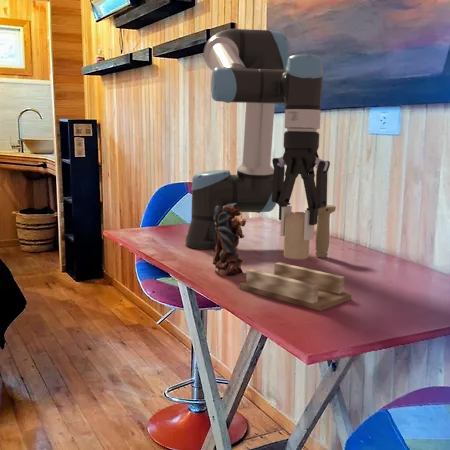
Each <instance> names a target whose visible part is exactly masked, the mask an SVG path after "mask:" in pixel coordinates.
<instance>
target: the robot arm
mask: <svg viewBox="0 0 450 450" xmlns="http://www.w3.org/2000/svg"><path fill="white" fill-rule="evenodd" d="M290 55H291V54H290V47H289V42H288V38H287V36H286V34H285V33H283V32H282V31H277V30H271V29H268V30H265V29H245V28H243V29H242V28H230V29H229V28H228V29H224V30H221V31H218V32H217V33H215V34H213V35H212V36H211V37H210V38H209V39H208V40H207V41H206V43H205V44H204V48H203V58H204V63H205V64H206V66H207V67H208V68H209V70H211V71H212V72H211V79H210V80H211V81H210V93H211V98H212V101H215V102H220V103H221V102H222V103H225V104H226V103H228V104H229V103H243V104H245V113H244V114H245V115H244V130H243V146H242V147H243V148H242V149H243V150H242V163H241V165H239V166H238V167H237V169H236V174H231V171H230V170H228V169H216V170H207V171H202V172H198V173H195V174H194V175H193V176H192V180H191V181H192V182H191V188H190V189H191V219H190V220H191V221H190V224H189V227H188V230H187V235H186V236H185V246H186V247H188V248H190V249H191V248H192V249H197V250H207V251H209V250H211V251H213V250H214V251H215V247H216V244H217V243H216V238H215V237H216V232H215V227H216V226H215V221H214V211H215V208H216V206H220V207H221V210H222V212H223V206H225V205H228V204H229V203H230V204H232V203H237V205H236V207H237V208H238V209H239V210H238V211H239V212H240V213H256V214H261V213H269V212H270V213H271V212H272V211H273V210H274V209H275V207H276V206H277V205H278V220H279V221H280V237H285V218H286V217H287V216H288V215H289V214H290V213H291V212H292V206H291V203H290V202H291V201H290V200H291V197H292V194H293V191H294V186H295V185H296V180H297V178H298V176H299V175H300V178H301V179H302V181H303V185H304V187H303V188H304V191H305V192H304V193H305V197H306V202H307V208H306V209H305V210H304V213H305V221H304V240H314V239H315V238H314V236H315V226H317V221H318V210H319V209H320V208H323V207H326V206H327V205H328V203H327V202H328V172H329V168H330V166H331V163H330V161H329V160H323V159H322V158H320V156H319V154H318V153H319V152H318V151H319V148H320V133H319V131H318V130H319V129H321V107H322V92H323V76H324V66H323V65H324V63H323V62H324V61H323V58H322V57H321V56H319V55H316V54H294V55H293V54H292V55H291V56H290ZM275 104H277V105H282V106H284V108H285V109H284V124H283V125H284V128H285V129H287V130H285V131H284V133H283V149H284V153H283V155H282V156H280V157H273V158H272V147H273V146H272V145H273V132H274V121H275V120H274V119H275V107H276V105H275ZM271 161H272V165H271ZM285 166H286V167H285ZM314 169H316V172H315V170H314ZM315 173H316V174H315Z"/></svg>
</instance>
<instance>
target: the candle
mask: <svg viewBox="0 0 450 450" xmlns="http://www.w3.org/2000/svg"><path fill="white" fill-rule="evenodd" d="M304 221H305V211H295V212H293V211H291V213H290V214H289V215H288V216H287V217H286V218H285V236H283V238H284V239H283V241H284V242H283V243H284V244H283V257H284V258H286V259H291V260H306V259H307V260H308V259H309V257H310V256H309V255H310V242H311V241H310V240H304Z"/></svg>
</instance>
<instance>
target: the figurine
mask: <svg viewBox="0 0 450 450" xmlns="http://www.w3.org/2000/svg"><path fill="white" fill-rule="evenodd" d="M236 205H237V203H232V204H230V203H229V204H228V205H225V206H223V212H222V210H221V207H220V206H216V208H215V211H214V221H215V226H216V227H215V232H216V237H215V238H216V243H217V244H216V247H215V250H214V251H215V253H214V254H215V255H214V257H213V260H212V265H214V266H215V267H214V273H216V274H218V275H220V276H230V277H232V276H233V277H234V276H236V275H240V274H243V273H244V272H243V269H242V267H241V266H242V265H243V264H244V263H245V260H244V259H243V258H240V255H239V254H238V251H237V247H238V246H239V244H240V239H244V238H245V234H243V230H242V227H245V226H246V223H247V219H246V218H240V219H239V218H238V217H240V216H241V214H242V212H239V211H238V210H239V209H238V208H237V207H236Z"/></svg>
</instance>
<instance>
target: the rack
mask: <svg viewBox="0 0 450 450" xmlns="http://www.w3.org/2000/svg"><path fill="white" fill-rule="evenodd" d="M273 271H274V272H273V273H269V272H266V271H261V270H257V269H254V268H253V269H252V268H251V269H248V270H246V279H245V280H246V281H245V282H240V283H239V289H240V290H242V291H247V292H249V293H253V294H256V295H261V296H264V297H268V298H271V299H272V298H273V299H275V300H278V301H279V300H280V301H283V302H286V303H290V304H293V305H297V306H301V307H304V308H308V309H312V310H314V311H319V312H322V311H326V310H327V309H330V308H332V307H335V306H337V305H340V304H342V303H345V302H348V301H351V300H352V295H353V294H352V293H348V292H344V290H345V276H342V275H339V274H334V273H329V272H325V271H320V270H315V269H311V268H306V267H301V266H297V265H294V264H293V265H292V264H289V263H284V262H280V261H279V262H276V263H274V269H273Z"/></svg>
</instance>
